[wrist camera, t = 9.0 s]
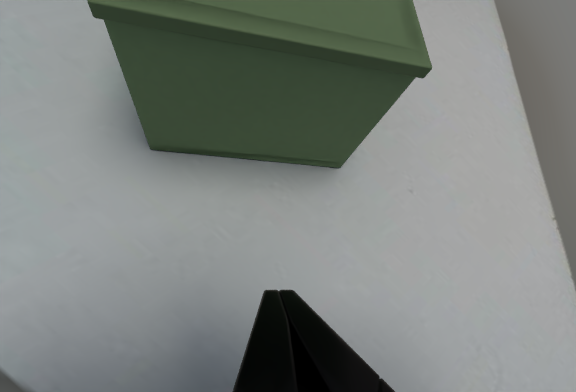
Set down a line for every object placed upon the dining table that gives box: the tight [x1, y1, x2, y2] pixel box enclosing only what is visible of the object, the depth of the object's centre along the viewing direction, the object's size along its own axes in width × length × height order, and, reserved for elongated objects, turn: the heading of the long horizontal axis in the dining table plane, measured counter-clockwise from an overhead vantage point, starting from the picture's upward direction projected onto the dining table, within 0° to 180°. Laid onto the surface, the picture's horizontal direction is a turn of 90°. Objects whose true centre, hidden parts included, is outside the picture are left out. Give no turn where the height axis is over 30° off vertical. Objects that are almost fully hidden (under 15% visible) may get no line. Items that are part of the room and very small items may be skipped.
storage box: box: [87, 0, 432, 168], centre depth 17 cm, size 16×12×9 cm
